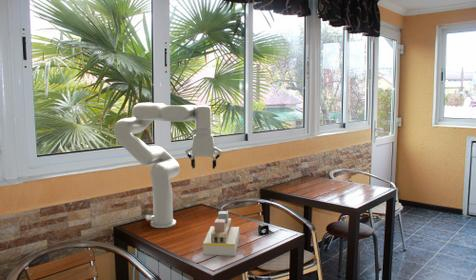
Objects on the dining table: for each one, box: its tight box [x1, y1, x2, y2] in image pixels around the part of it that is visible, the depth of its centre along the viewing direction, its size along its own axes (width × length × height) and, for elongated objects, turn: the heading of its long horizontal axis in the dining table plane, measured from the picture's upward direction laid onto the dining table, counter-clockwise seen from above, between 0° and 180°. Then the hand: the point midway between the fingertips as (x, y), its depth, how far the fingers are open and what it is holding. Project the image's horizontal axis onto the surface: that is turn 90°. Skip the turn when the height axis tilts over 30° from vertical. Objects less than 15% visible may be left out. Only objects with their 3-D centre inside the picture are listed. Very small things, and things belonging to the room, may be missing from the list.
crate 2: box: [213, 218, 225, 232], centre depth 166 cm, size 4×4×4 cm
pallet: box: [211, 217, 232, 243], centre depth 172 cm, size 6×20×4 cm, turn 175°
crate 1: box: [217, 210, 229, 223], centre depth 177 cm, size 4×4×4 cm
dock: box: [202, 225, 240, 257], centre depth 172 cm, size 13×20×5 cm, turn 175°
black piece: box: [252, 222, 275, 237], centre depth 188 cm, size 12×7×5 cm, turn 116°
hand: (203, 168), depth 189 cm, fingers open, 9 cm apart
